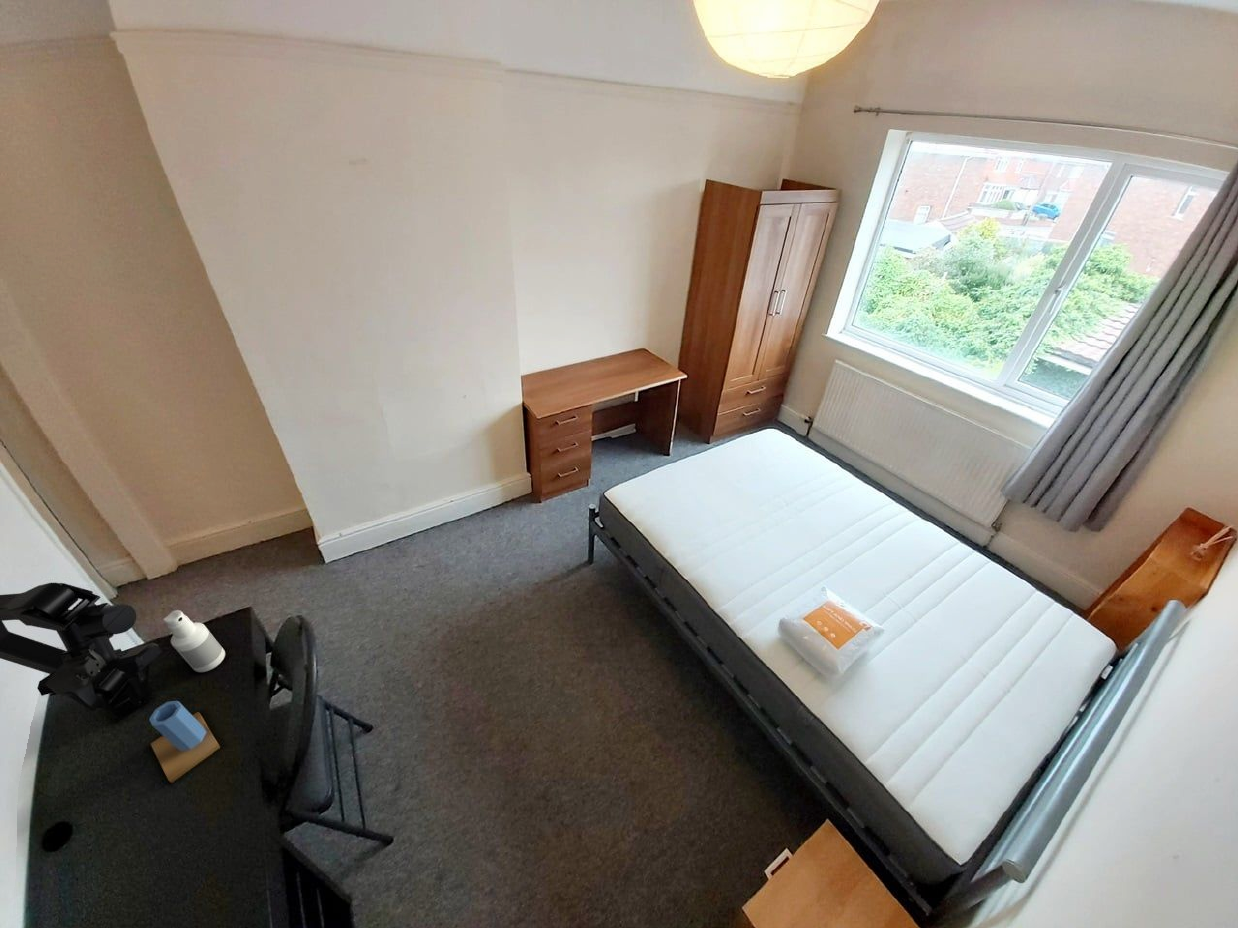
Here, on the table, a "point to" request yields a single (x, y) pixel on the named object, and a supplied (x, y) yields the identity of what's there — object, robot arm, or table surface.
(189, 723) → the sleeve
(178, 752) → the base
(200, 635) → the spray bottle
